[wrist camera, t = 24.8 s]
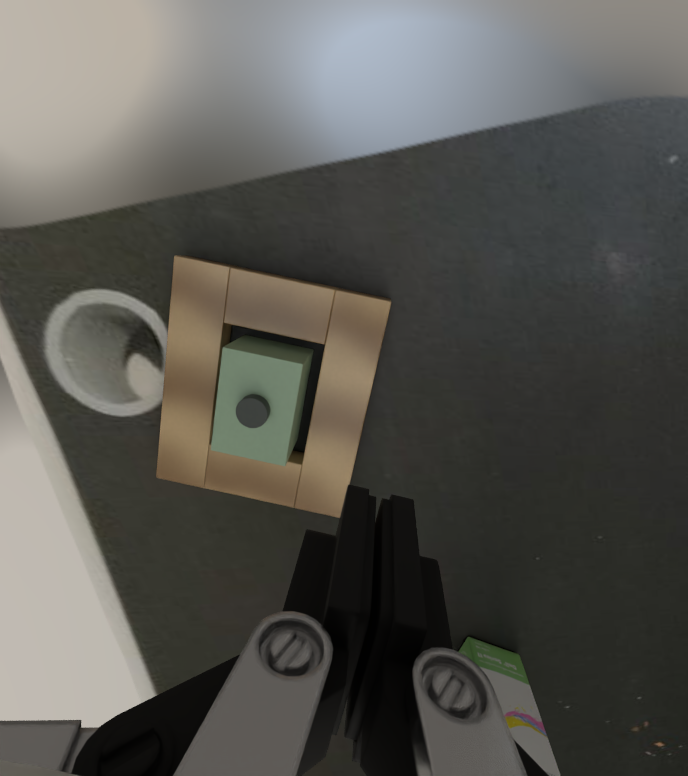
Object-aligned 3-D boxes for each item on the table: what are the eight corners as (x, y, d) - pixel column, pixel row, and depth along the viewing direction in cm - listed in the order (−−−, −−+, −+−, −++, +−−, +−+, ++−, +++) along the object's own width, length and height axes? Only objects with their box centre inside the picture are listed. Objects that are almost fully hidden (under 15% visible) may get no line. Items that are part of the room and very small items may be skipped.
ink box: (466, 631, 36) (521, 869, 22) (520, 652, 36) (609, 902, 22) (422, 702, 39) (447, 955, 25) (474, 721, 39) (527, 984, 25)
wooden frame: (187, 255, 29) (174, 255, 27) (391, 298, 29) (391, 301, 27) (168, 465, 34) (156, 477, 32) (343, 504, 34) (341, 518, 32)
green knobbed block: (244, 334, 31) (217, 349, 26) (314, 349, 31) (301, 367, 25) (232, 425, 33) (205, 455, 28) (297, 439, 33) (282, 472, 28)
